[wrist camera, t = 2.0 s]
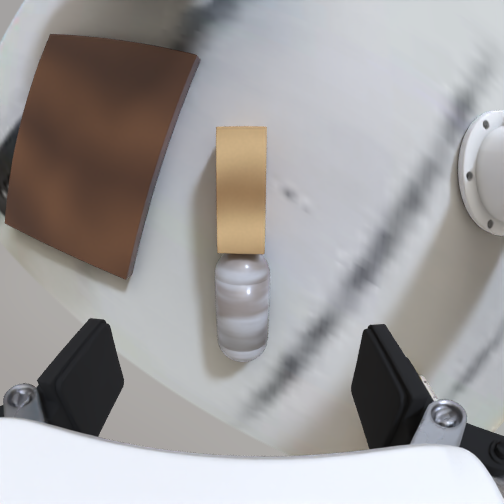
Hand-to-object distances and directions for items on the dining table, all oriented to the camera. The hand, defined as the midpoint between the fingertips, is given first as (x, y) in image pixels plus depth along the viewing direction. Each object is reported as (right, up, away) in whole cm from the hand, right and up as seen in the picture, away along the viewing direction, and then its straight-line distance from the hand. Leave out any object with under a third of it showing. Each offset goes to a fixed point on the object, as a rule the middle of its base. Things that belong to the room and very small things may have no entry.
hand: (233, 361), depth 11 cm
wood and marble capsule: (0, +4, +16) cm, 17 cm away
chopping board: (-15, +13, +14) cm, 24 cm away
